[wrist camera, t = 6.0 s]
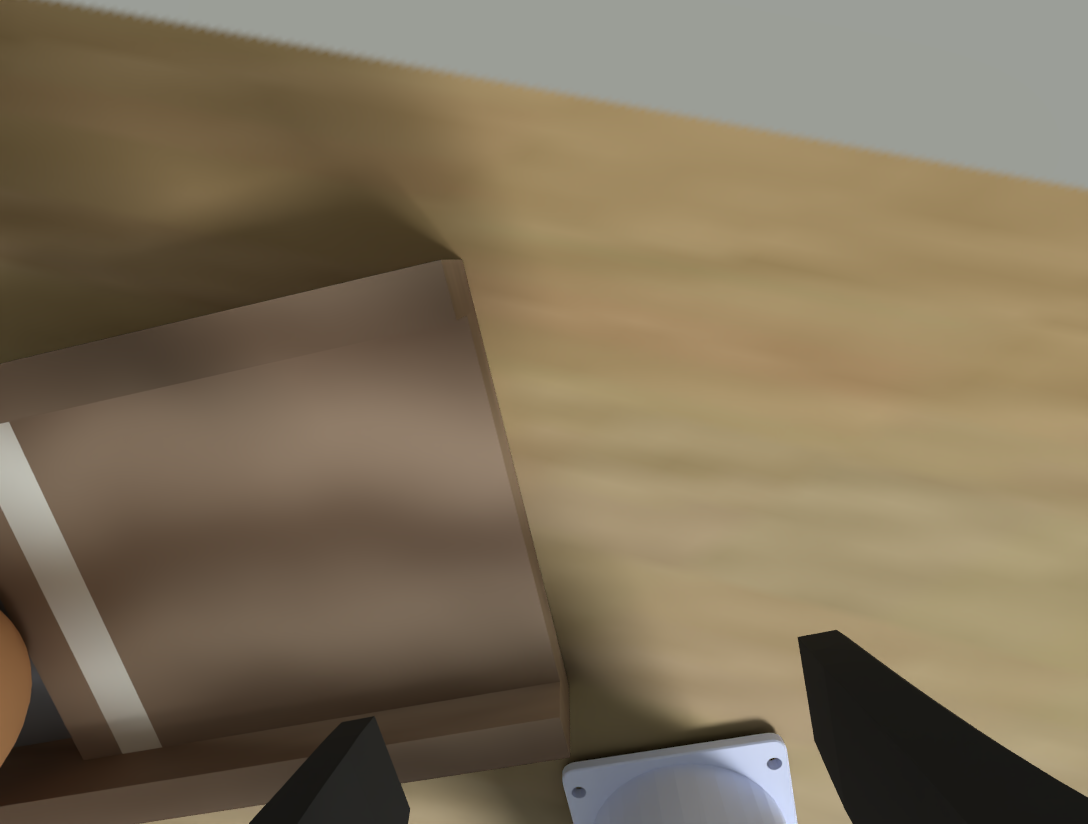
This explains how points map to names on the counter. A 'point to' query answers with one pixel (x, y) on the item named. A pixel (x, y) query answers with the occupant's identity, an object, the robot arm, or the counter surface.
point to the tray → (268, 555)
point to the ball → (12, 685)
